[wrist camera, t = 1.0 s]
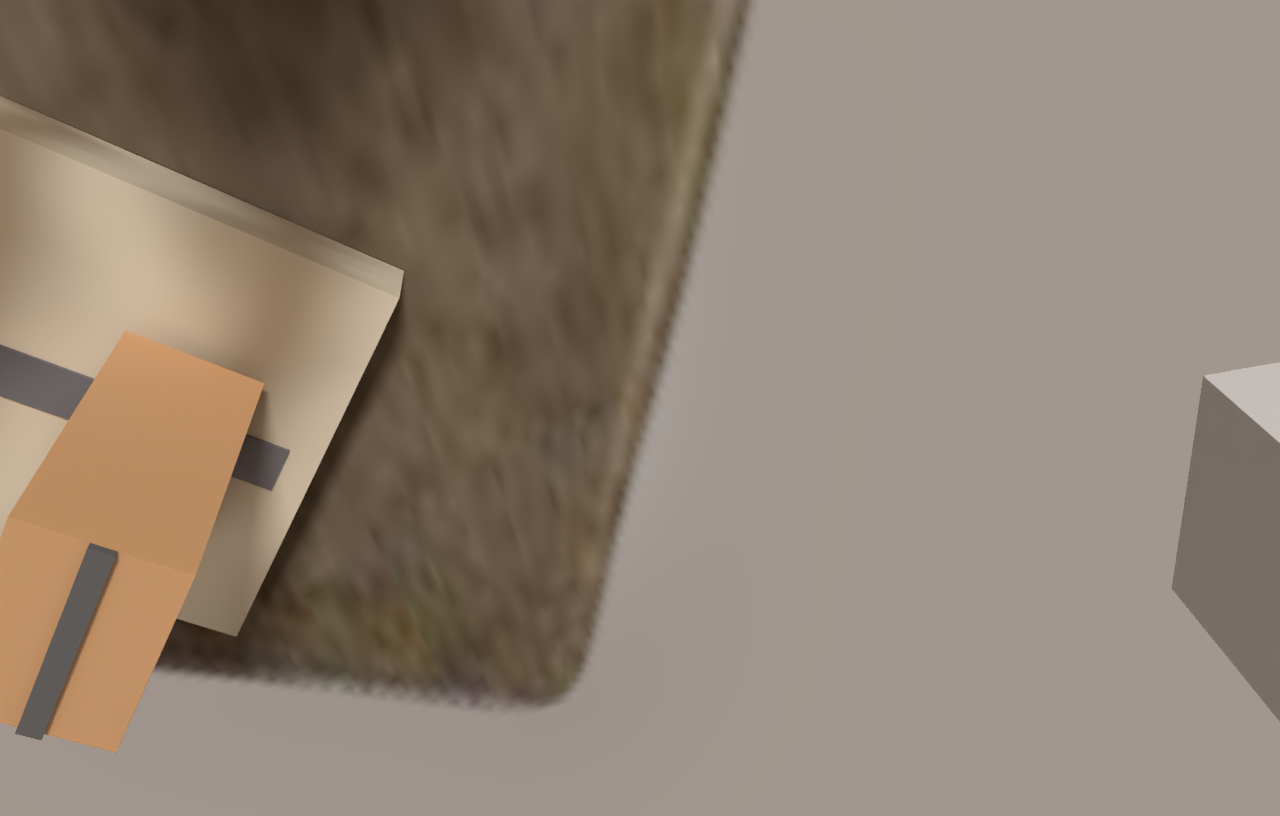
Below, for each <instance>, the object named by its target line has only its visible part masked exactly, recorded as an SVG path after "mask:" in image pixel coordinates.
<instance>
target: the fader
mask: <svg viewBox="0 0 1280 816" xmlns="http://www.w3.org/2000/svg"><path fill="white" fill-rule="evenodd" d="M263 386H264V383H262V382H260V381H257V380H254V379H252V378H249V377H247V376H244V375H241V374H239V373H236V372H233V371H231V370H228V369H226V368H223V367H220V366H218V365H215V364H212V363H210V362H207V361H205V360H202V359H199V358H197V357H194V356H192V355H189V354H186V353H184V352H181V351H178V350H176V349H173V348H171V347H168V346H165V345H163V344H160V343H157V342H155V341H152V340H150V339H147V338H144V337H142V336H139V335H137V334H134V333H131V332H129V331H126V330H125V332H124V333H123V335H122V336H121V338H120V340H119V341H118V343H117V344H116V346H115V348H114V349H113V351H112V352H111V354H110V355H109V357H108V359H107V360H106V362H105V363H104V365H103V367H102V368H101V370H100V371H99V373H98V374H97V376H96V378H95V379H94V381H93V382H92V384H91V386H90V387H89V389H88V390H87V392H86V393H85V395H84V397H83V398H82V400H81V401H80V403H79V405H78V406H77V408H76V409H75V411H74V413H73V414H72V416H71V417H70V419H69V420H68V422H67V424H66V425H65V427H64V428H63V430H62V432H61V433H60V435H59V436H58V438H57V439H56V441H55V443H54V444H53V446H52V447H51V449H50V451H49V452H48V454H47V455H46V457H45V459H44V460H43V462H42V463H41V465H40V466H39V468H38V470H37V471H36V473H35V474H34V476H33V478H32V479H31V481H30V482H29V484H28V485H27V487H26V489H25V490H24V492H23V493H22V495H21V497H20V498H19V500H18V501H17V503H16V505H15V506H14V508H13V509H12V511H11V512H10V514H9V516H8V518H7V521H6V523H5V526H4V529H3V532H2V535H1V538H0V723H4V724H8V725H11V726H16V727H17V730H16V732H15V734H19V735H23V736H27V737H31V738H35V739H39V740H42V738H43V735H44V734H46V735H50V736H54V737H58V738H61V739H66V740H69V741H73V742H77V743H81V744H84V745H88V746H92V747H96V748H100V749H104V750H108V751H112V752H115V753H116V752H117V750H118V748H119V745H120V743H121V741H122V739H123V737H124V734H125V732H126V730H127V728H128V725H129V723H130V721H131V719H132V716H133V714H134V712H135V710H136V708H137V705H138V703H139V701H140V699H141V696H142V694H143V692H144V690H145V687H146V685H147V683H148V681H149V679H150V676H151V674H152V672H153V670H154V667H155V665H156V663H157V661H158V658H159V656H160V654H161V652H162V650H163V647H164V645H165V643H166V641H167V638H168V636H169V634H170V632H171V629H172V627H173V625H174V623H175V620H176V618H177V616H178V614H179V612H180V609H181V607H182V605H183V603H184V600H185V598H186V596H187V594H188V591H189V589H190V587H191V585H192V582H193V580H194V578H195V576H196V573H197V570H198V567H199V564H200V562H201V559H202V556H203V553H204V551H205V548H206V545H207V542H208V539H209V537H210V534H211V531H212V528H213V525H214V523H215V520H216V517H217V514H218V511H219V509H220V506H221V503H222V500H223V497H224V495H225V492H226V489H227V486H228V483H229V481H230V478H231V475H232V472H233V470H234V467H235V464H236V461H237V458H238V456H239V453H240V450H241V447H242V444H243V442H244V439H245V436H246V433H247V430H248V428H249V425H250V422H251V419H252V416H253V414H254V411H255V408H256V405H257V402H258V400H259V397H260V394H261V391H262V388H263Z"/></svg>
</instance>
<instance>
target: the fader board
mask: <svg viewBox="0 0 1280 816" xmlns="http://www.w3.org/2000/svg"><path fill="white" fill-rule="evenodd" d="M403 274H404V271H403V270H401V269H398V268H396V267H394V266H391V265H389V264H387V263H384V262H382V261H380V260H378V259H375V258H373V257H371V256H368V255H366V254H364V253H361V252H359V251H357V250H354V249H352V248H350V247H348V246H345V245H343V244H341V243H338V242H336V241H334V240H331V239H329V238H327V237H325V236H322V235H320V234H318V233H315V232H313V231H311V230H308V229H306V228H304V227H301V226H299V225H297V224H295V223H292V222H290V221H288V220H285V219H283V218H281V217H278V216H276V215H274V214H271V213H269V212H267V211H265V210H262V209H260V208H258V207H255V206H253V205H251V204H248V203H246V202H244V201H241V200H239V199H237V198H235V197H232V196H230V195H228V194H225V193H223V192H221V191H218V190H216V189H214V188H212V187H209V186H207V185H205V184H202V183H200V182H198V181H195V180H193V179H191V178H188V177H186V176H184V175H182V174H179V173H177V172H175V171H172V170H170V169H168V168H165V167H163V166H161V165H158V164H156V163H154V162H152V161H149V160H147V159H145V158H142V157H140V156H138V155H135V154H133V153H131V152H129V151H126V150H124V149H122V148H119V147H117V146H115V145H112V144H110V143H108V142H105V141H103V140H101V139H99V138H96V137H94V136H92V135H89V134H87V133H85V132H82V131H80V130H78V129H75V128H73V127H71V126H69V125H66V124H64V123H62V122H59V121H57V120H55V119H52V118H50V117H48V116H45V115H43V114H41V113H39V112H36V111H34V110H32V109H29V108H27V107H25V106H22V105H20V104H18V103H16V102H13V101H11V100H9V99H6V98H4V97H2V96H0V538H1V535H2V532H3V529H4V526H5V523H6V521H7V518H8V516H9V514H10V512H11V511H12V509H13V508H14V506H15V505H16V503H17V501H18V500H19V498H20V497H21V495H22V493H23V492H24V490H25V489H26V487H27V485H28V484H29V482H30V481H31V479H32V478H33V476H34V474H35V473H36V471H37V470H38V468H39V466H40V465H41V463H42V462H43V460H44V459H45V457H46V455H47V454H48V452H49V451H50V449H51V447H52V446H53V444H54V443H55V441H56V439H57V438H58V436H59V435H60V433H61V432H62V430H63V428H64V427H65V425H66V424H67V422H68V420H69V419H70V417H71V416H72V414H73V413H74V411H75V409H76V408H77V406H78V405H79V403H80V401H81V400H82V398H83V397H84V395H85V393H86V392H87V390H88V389H89V387H90V386H91V384H92V382H93V381H94V379H95V378H96V376H97V374H98V373H99V371H100V370H101V368H102V367H103V365H104V363H105V362H106V360H107V359H108V357H109V355H110V354H111V352H112V351H113V349H114V348H115V346H116V344H117V343H118V341H119V340H120V338H121V336H122V335H123V333H124V332H125V330H126V331H129V332H131V333H134V334H137V335H139V336H142V337H144V338H147V339H150V340H152V341H155V342H157V343H160V344H163V345H165V346H168V347H171V348H173V349H176V350H178V351H181V352H184V353H186V354H189V355H192V356H194V357H197V358H199V359H202V360H205V361H207V362H210V363H212V364H215V365H218V366H220V367H223V368H226V369H228V370H231V371H233V372H236V373H239V374H241V375H244V376H247V377H249V378H252V379H254V380H257V381H260V382H262V383H264V386H263V388H262V391H261V394H260V397H259V400H258V402H257V405H256V408H255V411H254V414H253V416H252V419H251V422H250V425H249V428H248V430H247V433H246V436H245V439H244V442H243V444H242V447H241V450H240V453H239V456H238V458H237V461H236V464H235V467H234V470H233V472H232V475H231V478H230V481H229V483H228V486H227V489H226V492H225V495H224V497H223V500H222V503H221V506H220V509H219V511H218V514H217V517H216V520H215V523H214V525H213V528H212V531H211V534H210V537H209V539H208V542H207V545H206V548H205V551H204V553H203V556H202V559H201V562H200V564H199V567H198V570H197V573H196V576H195V578H194V580H193V582H192V585H191V587H190V589H189V591H188V594H187V596H186V598H185V600H184V603H183V605H182V607H181V609H180V612H179V614H178V616H177V618H176V619H179V620H183V621H186V622H189V623H193V624H196V625H199V626H203V627H206V628H209V629H212V630H216V631H219V632H222V633H226V634H229V635H232V636H235V637H237V635H238V632H239V630H240V628H241V626H242V624H243V622H244V620H245V618H246V616H247V614H248V612H249V610H250V608H251V605H252V603H253V601H254V599H255V597H256V595H257V593H258V591H259V589H260V587H261V585H262V583H263V581H264V579H265V576H266V574H267V572H268V570H269V568H270V566H271V564H272V562H273V560H274V558H275V556H276V554H277V552H278V549H279V547H280V545H281V543H282V541H283V539H284V537H285V535H286V533H287V531H288V529H289V527H290V525H291V522H292V520H293V518H294V516H295V514H296V512H297V510H298V508H299V506H300V504H301V502H302V500H303V498H304V495H305V493H306V491H307V489H308V487H309V485H310V483H311V481H312V479H313V477H314V475H315V473H316V471H317V468H318V466H319V464H320V462H321V460H322V458H323V456H324V454H325V452H326V450H327V448H328V446H329V444H330V441H331V439H332V437H333V435H334V433H335V431H336V429H337V427H338V425H339V423H340V421H341V419H342V417H343V414H344V412H345V410H346V408H347V406H348V404H349V402H350V400H351V398H352V396H353V394H354V392H355V390H356V387H357V385H358V383H359V381H360V379H361V377H362V375H363V373H364V371H365V369H366V367H367V365H368V363H369V360H370V358H371V356H372V354H373V352H374V350H375V348H376V346H377V344H378V342H379V340H380V338H381V336H382V333H383V331H384V329H385V327H386V325H387V323H388V321H389V319H390V317H391V315H392V313H393V311H394V309H395V306H396V304H397V302H398V300H399V298H400V292H401V286H402V280H403Z"/></svg>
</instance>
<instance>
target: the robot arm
mask: <svg viewBox="0 0 1280 816" xmlns="http://www.w3.org/2000/svg"><path fill="white" fill-rule="evenodd" d="M1172 589H1173V590H1174V592H1175V593H1176V594H1177V595H1178V597H1179V598H1180V599H1181V600H1182V602H1183V603H1184V604H1185V605H1186V607H1187V608H1188V609H1189V610H1190V612H1191V613H1192V614H1193V615H1194V616H1195V618H1196V619H1197V620H1198V621H1199V623H1200V624H1201V625H1202V626H1203V628H1204V629H1205V630H1206V631H1207V632H1208V634H1209V635H1210V636H1211V637H1212V639H1213V640H1214V641H1215V642H1216V644H1217V645H1218V646H1219V647H1220V648H1221V650H1222V651H1223V652H1224V653H1225V654H1226V656H1227V657H1228V658H1229V660H1230V661H1231V662H1232V663H1233V664H1234V666H1235V667H1236V668H1237V669H1238V671H1239V672H1240V673H1241V674H1242V676H1243V677H1244V678H1245V679H1246V681H1247V682H1248V683H1249V684H1250V685H1251V687H1252V688H1253V689H1254V690H1255V691H1256V693H1257V694H1258V695H1259V696H1260V698H1261V699H1262V700H1263V701H1264V703H1265V704H1266V705H1267V706H1268V707H1269V709H1270V710H1271V711H1272V713H1273V714H1274V715H1275V716H1276V717H1277V719H1278V720H1279V721H1280V364H1279V363H1273V364H1268V365H1263V366H1256V367H1251V368H1245V369H1239V370H1234V371H1228V372H1223V373H1217V374H1211V375H1206V376H1203V382H1202V388H1201V395H1200V402H1199V409H1198V415H1197V422H1196V429H1195V436H1194V443H1193V449H1192V456H1191V462H1190V469H1189V476H1188V482H1187V489H1186V496H1185V503H1184V510H1183V516H1182V523H1181V530H1180V537H1179V543H1178V550H1177V558H1176V564H1175V570H1174V577H1173V584H1172Z"/></svg>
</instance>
